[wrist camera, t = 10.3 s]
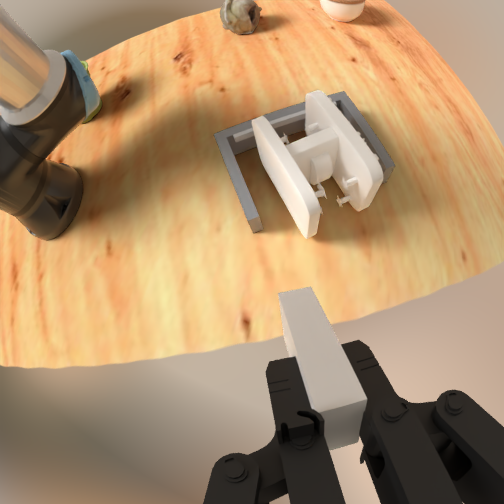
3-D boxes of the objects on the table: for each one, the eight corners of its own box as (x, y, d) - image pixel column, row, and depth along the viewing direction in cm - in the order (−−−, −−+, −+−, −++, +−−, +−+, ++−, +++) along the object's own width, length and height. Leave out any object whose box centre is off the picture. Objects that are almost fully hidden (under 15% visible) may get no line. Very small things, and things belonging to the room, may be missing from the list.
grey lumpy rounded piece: (234, 45, 56) (212, 20, 46) (228, 24, 56) (207, 1, 47) (272, 29, 52) (253, 1, 43) (263, 9, 53) (245, -17, 44)
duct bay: (221, 152, 45) (213, 134, 40) (341, 111, 44) (344, 91, 39) (253, 233, 41) (247, 220, 36) (386, 182, 40) (395, 165, 35)
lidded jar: (351, 31, 50) (354, -1, 41) (310, 17, 52) (309, -14, 43) (370, 17, 51) (373, -13, 42) (332, 3, 54) (332, -25, 45)
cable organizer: (257, 159, 44) (244, 110, 33) (317, 133, 44) (320, 81, 33) (304, 244, 40) (307, 212, 29) (370, 211, 40) (392, 171, 28)
